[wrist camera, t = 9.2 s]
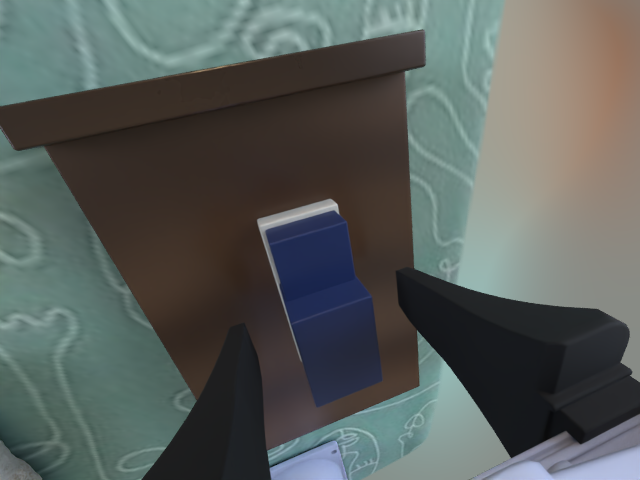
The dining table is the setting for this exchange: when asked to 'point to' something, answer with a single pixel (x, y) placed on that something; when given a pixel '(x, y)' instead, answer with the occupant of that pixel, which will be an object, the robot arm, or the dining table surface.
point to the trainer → (323, 299)
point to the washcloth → (14, 467)
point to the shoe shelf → (245, 200)
